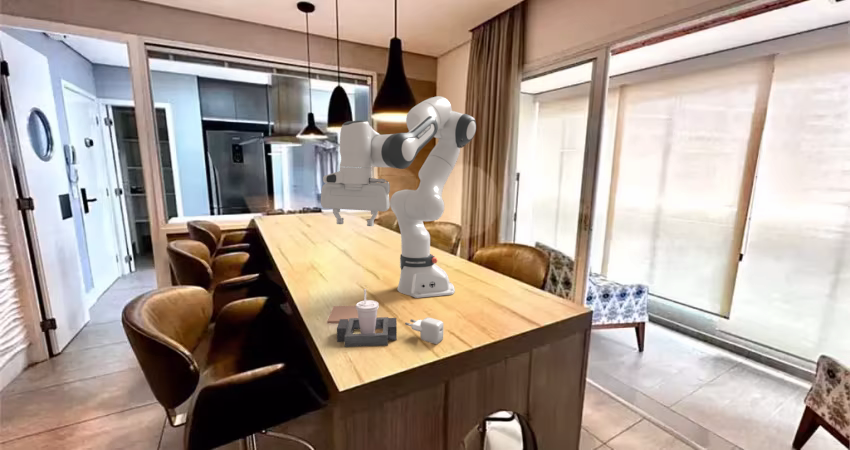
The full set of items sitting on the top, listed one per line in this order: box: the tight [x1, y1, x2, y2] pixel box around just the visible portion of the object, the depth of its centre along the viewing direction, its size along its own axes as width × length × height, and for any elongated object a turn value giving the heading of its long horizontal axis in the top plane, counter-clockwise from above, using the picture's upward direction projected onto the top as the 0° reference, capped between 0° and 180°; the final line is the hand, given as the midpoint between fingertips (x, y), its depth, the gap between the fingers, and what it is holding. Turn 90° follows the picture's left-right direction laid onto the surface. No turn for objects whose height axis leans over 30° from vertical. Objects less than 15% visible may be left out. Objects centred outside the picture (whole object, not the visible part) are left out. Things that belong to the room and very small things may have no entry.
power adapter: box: [404, 316, 444, 345], centre depth 102 cm, size 11×5×6 cm, turn 57°
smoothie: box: [355, 288, 380, 334], centre depth 102 cm, size 6×6×14 cm
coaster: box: [326, 305, 358, 325], centre depth 117 cm, size 12×12×1 cm
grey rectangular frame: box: [336, 316, 398, 348], centre depth 103 cm, size 16×12×4 cm
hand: (355, 225), depth 106 cm, fingers open, 8 cm apart
